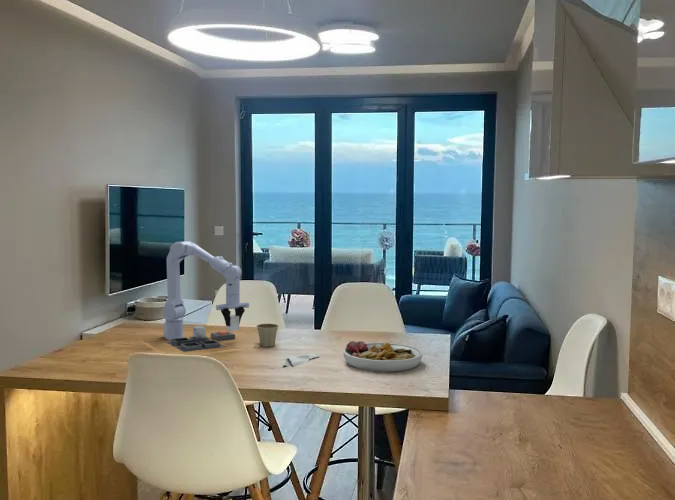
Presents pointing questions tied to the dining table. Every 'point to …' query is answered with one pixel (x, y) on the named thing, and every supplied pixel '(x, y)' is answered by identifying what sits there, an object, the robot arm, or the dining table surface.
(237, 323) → the billet
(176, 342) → the pallet
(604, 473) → the dining table surface
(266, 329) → the flower pot
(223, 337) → the box
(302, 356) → the cloth
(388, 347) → the bowl
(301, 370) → the dining table surface
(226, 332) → the button
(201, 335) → the billet
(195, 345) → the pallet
